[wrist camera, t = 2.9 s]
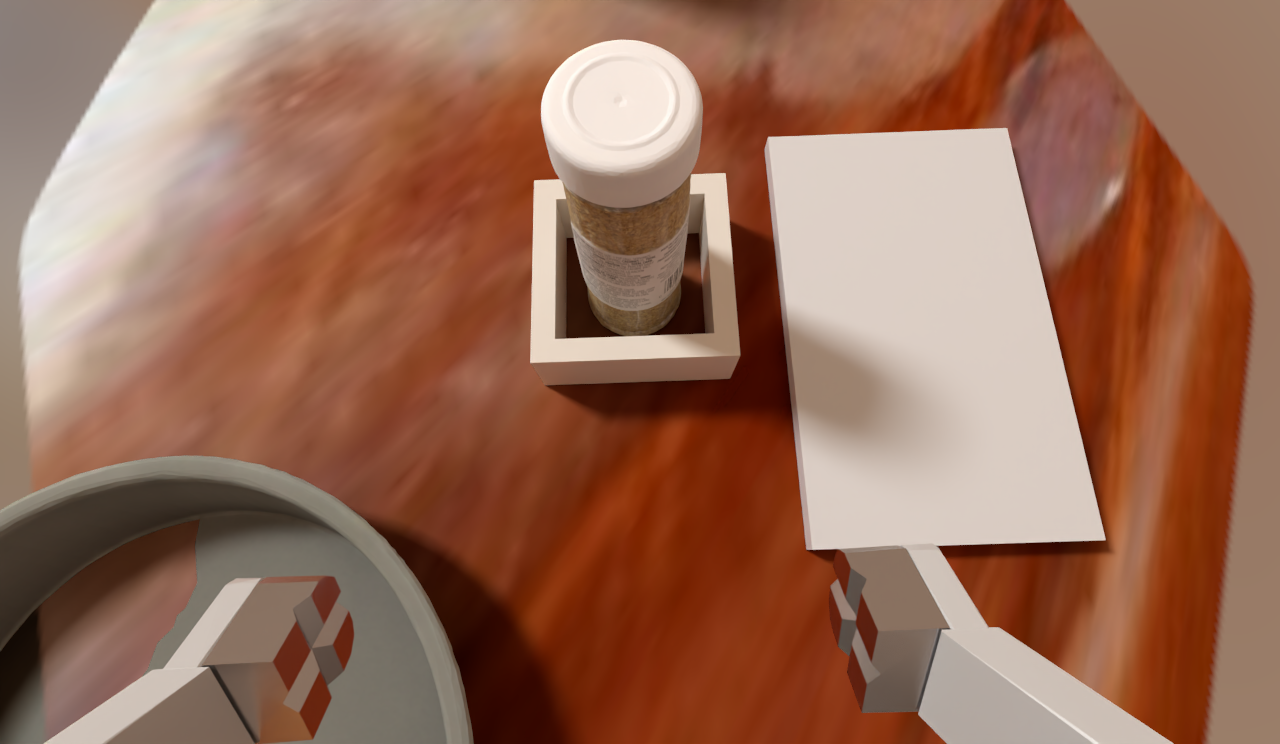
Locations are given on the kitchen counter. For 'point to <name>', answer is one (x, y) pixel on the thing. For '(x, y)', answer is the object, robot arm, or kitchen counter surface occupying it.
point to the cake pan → (225, 550)
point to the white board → (922, 345)
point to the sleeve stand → (633, 353)
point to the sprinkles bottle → (626, 175)
